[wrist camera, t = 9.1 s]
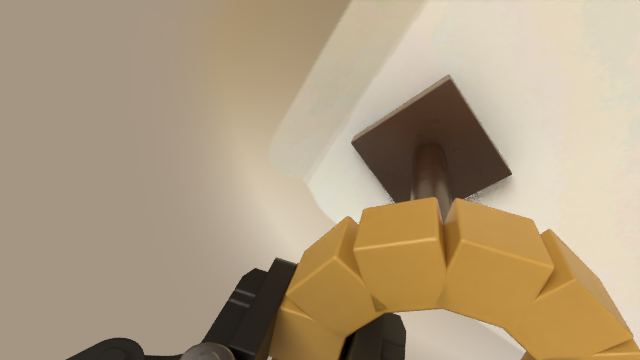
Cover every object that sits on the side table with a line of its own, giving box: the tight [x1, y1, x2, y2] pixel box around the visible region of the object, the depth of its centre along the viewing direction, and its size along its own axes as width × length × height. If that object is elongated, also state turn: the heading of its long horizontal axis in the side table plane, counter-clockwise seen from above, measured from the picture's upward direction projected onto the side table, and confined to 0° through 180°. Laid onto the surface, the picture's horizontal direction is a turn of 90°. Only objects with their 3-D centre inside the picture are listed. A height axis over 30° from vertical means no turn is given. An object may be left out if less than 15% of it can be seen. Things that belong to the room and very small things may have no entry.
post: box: [351, 75, 512, 225], centre depth 21 cm, size 7×7×11 cm
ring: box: [268, 197, 640, 360], centre depth 11 cm, size 9×9×2 cm
